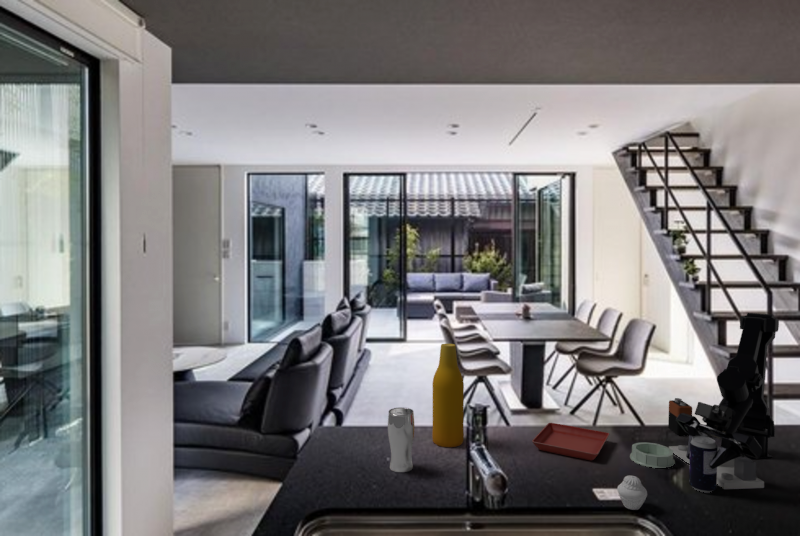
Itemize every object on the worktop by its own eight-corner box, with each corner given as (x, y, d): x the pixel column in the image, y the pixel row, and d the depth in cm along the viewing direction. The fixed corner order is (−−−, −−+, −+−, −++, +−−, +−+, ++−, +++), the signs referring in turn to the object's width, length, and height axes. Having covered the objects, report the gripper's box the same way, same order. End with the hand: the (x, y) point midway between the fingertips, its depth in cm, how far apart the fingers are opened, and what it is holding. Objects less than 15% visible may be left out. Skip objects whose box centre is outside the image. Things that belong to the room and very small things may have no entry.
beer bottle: (429, 446, 154) (429, 346, 152) (436, 435, 163) (436, 341, 161) (460, 449, 151) (460, 348, 150) (466, 438, 160) (466, 342, 159)
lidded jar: (629, 515, 114) (630, 483, 114) (611, 501, 120) (611, 471, 120) (653, 511, 116) (654, 479, 116) (634, 498, 122) (634, 468, 122)
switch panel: (669, 451, 149) (669, 431, 149) (703, 450, 150) (703, 430, 150) (724, 489, 126) (724, 465, 126) (764, 487, 127) (764, 464, 127)
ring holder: (660, 451, 149) (660, 441, 149) (683, 468, 138) (684, 456, 138) (622, 452, 148) (622, 442, 148) (642, 469, 137) (643, 458, 137)
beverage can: (713, 485, 128) (714, 436, 128) (718, 496, 123) (720, 445, 122) (687, 482, 130) (688, 434, 130) (691, 492, 125) (692, 442, 124)
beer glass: (418, 464, 141) (418, 409, 140) (407, 475, 134) (407, 417, 134) (394, 460, 144) (394, 405, 143) (383, 470, 137) (383, 413, 137)
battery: (681, 428, 168) (682, 397, 167) (692, 436, 161) (693, 404, 161) (667, 428, 168) (668, 397, 168) (677, 436, 161) (678, 403, 161)
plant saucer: (597, 466, 141) (597, 453, 141) (530, 452, 150) (531, 440, 150) (610, 443, 156) (610, 432, 156) (548, 432, 166) (549, 422, 165)
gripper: (681, 381, 136) (649, 430, 132) (755, 401, 119) (721, 457, 115) (702, 407, 139) (671, 455, 135) (776, 430, 122) (744, 486, 118)
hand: (699, 462), depth 126 cm, fingers closed on beverage can, 6 cm apart
